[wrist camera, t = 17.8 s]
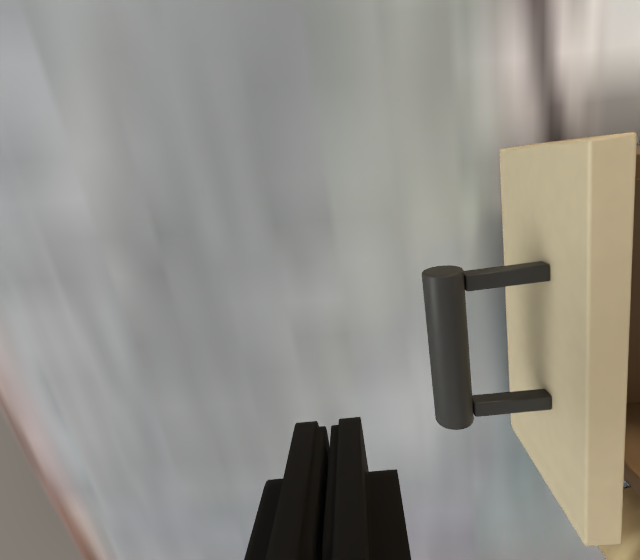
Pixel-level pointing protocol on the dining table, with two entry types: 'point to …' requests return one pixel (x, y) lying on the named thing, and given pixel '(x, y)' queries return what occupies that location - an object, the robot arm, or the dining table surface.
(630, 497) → the cylinder
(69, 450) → the dining table surface
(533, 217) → the drawer
